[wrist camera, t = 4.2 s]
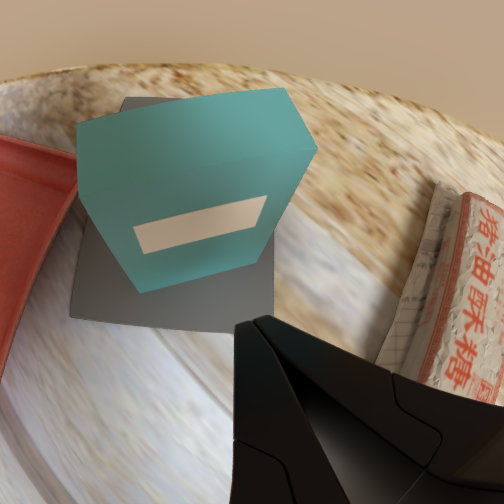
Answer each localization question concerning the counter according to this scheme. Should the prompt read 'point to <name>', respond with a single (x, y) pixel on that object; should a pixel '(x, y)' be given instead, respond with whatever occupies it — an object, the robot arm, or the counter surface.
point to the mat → (171, 297)
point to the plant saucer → (28, 221)
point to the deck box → (192, 181)
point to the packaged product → (453, 301)
